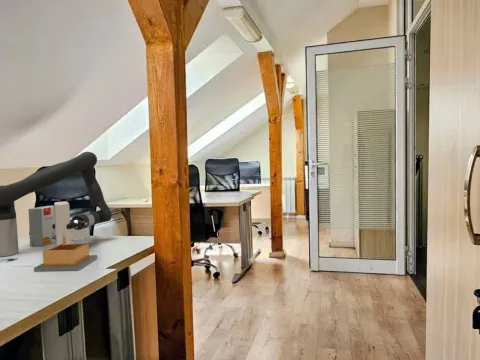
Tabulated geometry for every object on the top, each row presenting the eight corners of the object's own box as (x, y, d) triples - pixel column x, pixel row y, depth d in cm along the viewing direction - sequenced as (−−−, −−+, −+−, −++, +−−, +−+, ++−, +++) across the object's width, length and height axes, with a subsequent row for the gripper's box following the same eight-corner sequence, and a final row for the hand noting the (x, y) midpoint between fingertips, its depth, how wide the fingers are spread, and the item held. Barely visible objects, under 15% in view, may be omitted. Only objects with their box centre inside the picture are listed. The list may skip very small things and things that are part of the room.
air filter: (66, 256, 168) (62, 202, 167) (53, 256, 170) (50, 202, 168) (75, 253, 175) (72, 201, 173) (63, 253, 176) (60, 201, 175)
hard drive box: (42, 246, 192) (40, 208, 190) (29, 246, 193) (27, 209, 192) (61, 240, 207) (59, 205, 206) (49, 240, 208) (47, 205, 207)
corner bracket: (75, 240, 205) (74, 219, 204) (64, 238, 212) (63, 217, 211) (92, 237, 213) (91, 216, 213) (82, 235, 220) (81, 215, 219)
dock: (34, 271, 146) (32, 253, 146) (57, 259, 164) (56, 242, 164) (78, 270, 146) (77, 251, 145) (97, 258, 164) (96, 241, 163)
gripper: (70, 213, 187) (47, 218, 172) (95, 213, 184) (74, 218, 169) (71, 228, 188) (48, 234, 172) (95, 228, 185) (74, 235, 169)
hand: (61, 226), depth 170 cm, fingers open, 8 cm apart
